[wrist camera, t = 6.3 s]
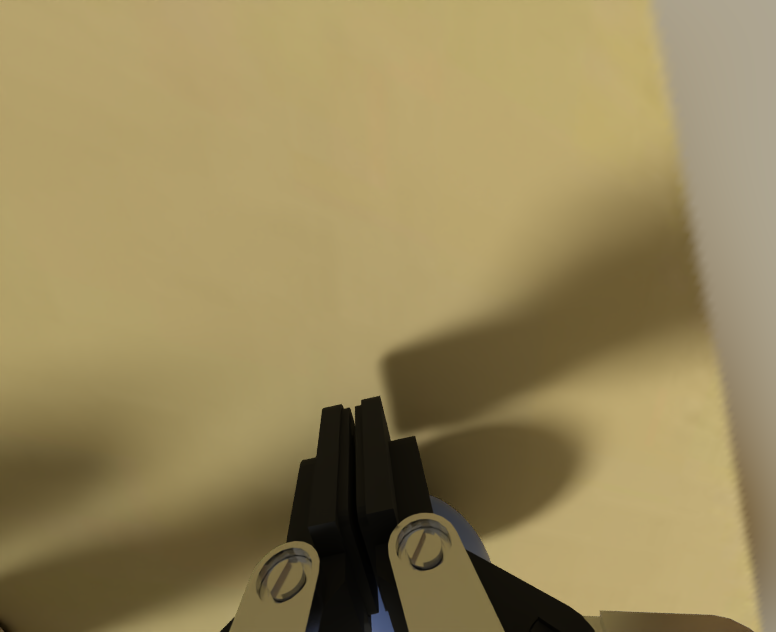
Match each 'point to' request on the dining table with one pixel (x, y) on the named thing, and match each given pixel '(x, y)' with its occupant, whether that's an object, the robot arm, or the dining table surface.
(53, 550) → the dining table surface
